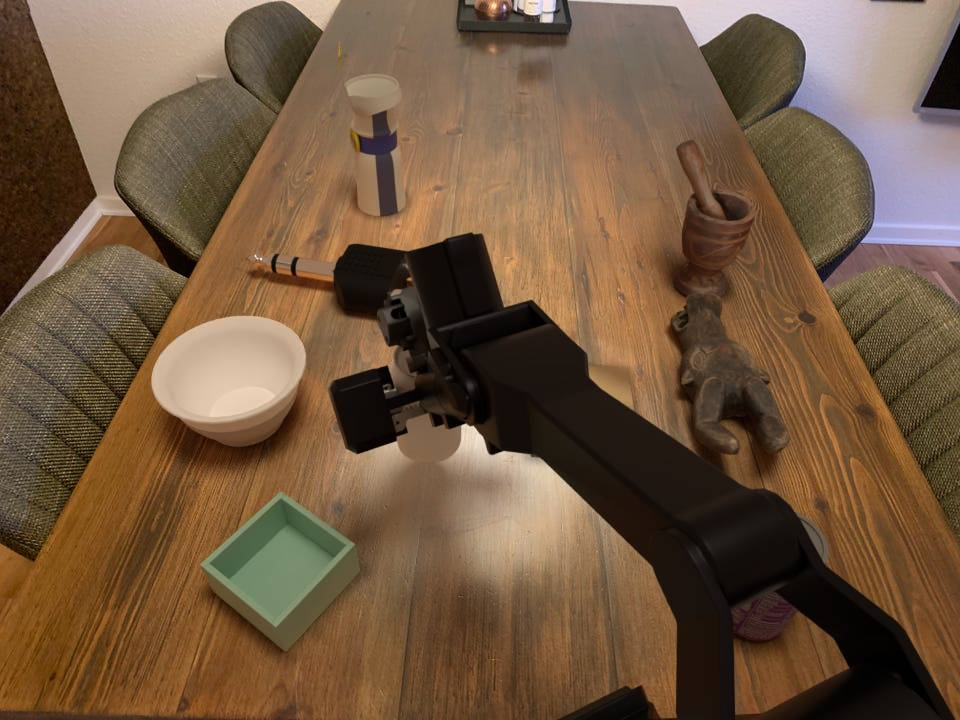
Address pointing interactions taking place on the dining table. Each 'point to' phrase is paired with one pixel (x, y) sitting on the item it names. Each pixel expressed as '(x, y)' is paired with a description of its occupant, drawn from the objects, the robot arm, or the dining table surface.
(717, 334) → the sculpture
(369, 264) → the audio adapter
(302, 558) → the tote
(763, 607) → the beverage can
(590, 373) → the board
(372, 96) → the water bottle
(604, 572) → the dining table surface
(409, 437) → the can
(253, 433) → the bowl
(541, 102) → the dining table surface
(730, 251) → the mortar and pestle
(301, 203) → the dining table surface
